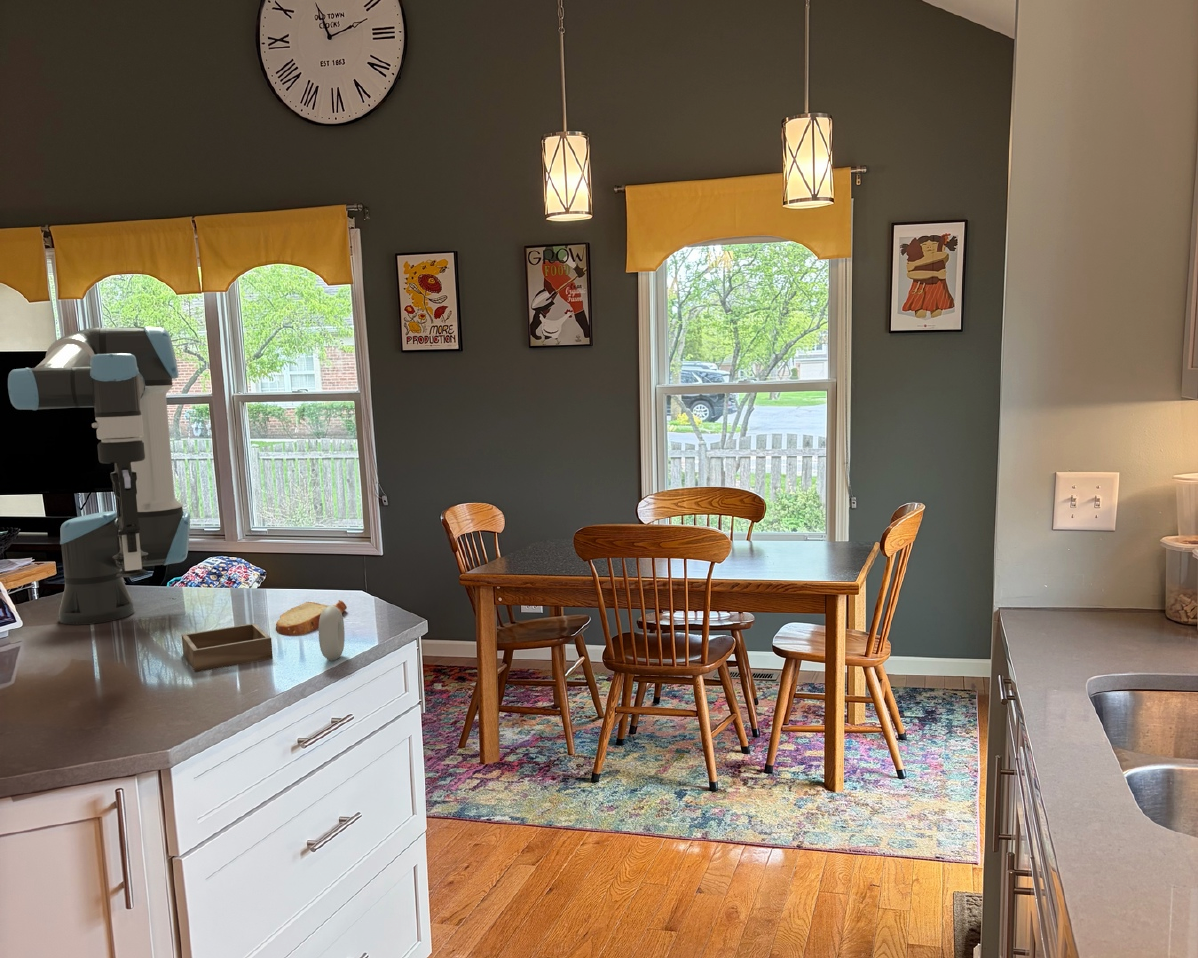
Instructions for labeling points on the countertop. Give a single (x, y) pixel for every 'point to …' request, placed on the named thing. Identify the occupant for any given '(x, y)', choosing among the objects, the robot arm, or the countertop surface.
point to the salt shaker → (120, 559)
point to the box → (226, 647)
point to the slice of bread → (303, 618)
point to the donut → (331, 633)
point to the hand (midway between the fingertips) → (131, 566)
